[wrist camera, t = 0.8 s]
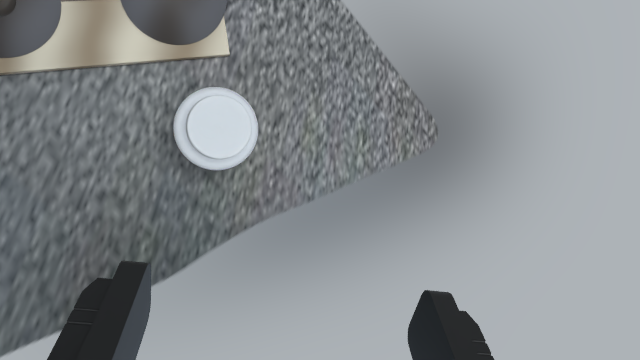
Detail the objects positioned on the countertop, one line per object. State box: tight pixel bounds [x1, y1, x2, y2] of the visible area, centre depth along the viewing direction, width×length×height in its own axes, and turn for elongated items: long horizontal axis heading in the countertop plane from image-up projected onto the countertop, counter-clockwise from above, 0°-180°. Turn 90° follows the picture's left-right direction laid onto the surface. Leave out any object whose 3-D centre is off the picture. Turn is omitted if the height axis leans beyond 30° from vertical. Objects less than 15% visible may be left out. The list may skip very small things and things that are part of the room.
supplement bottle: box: [173, 87, 258, 170], centre depth 33 cm, size 6×6×10 cm
